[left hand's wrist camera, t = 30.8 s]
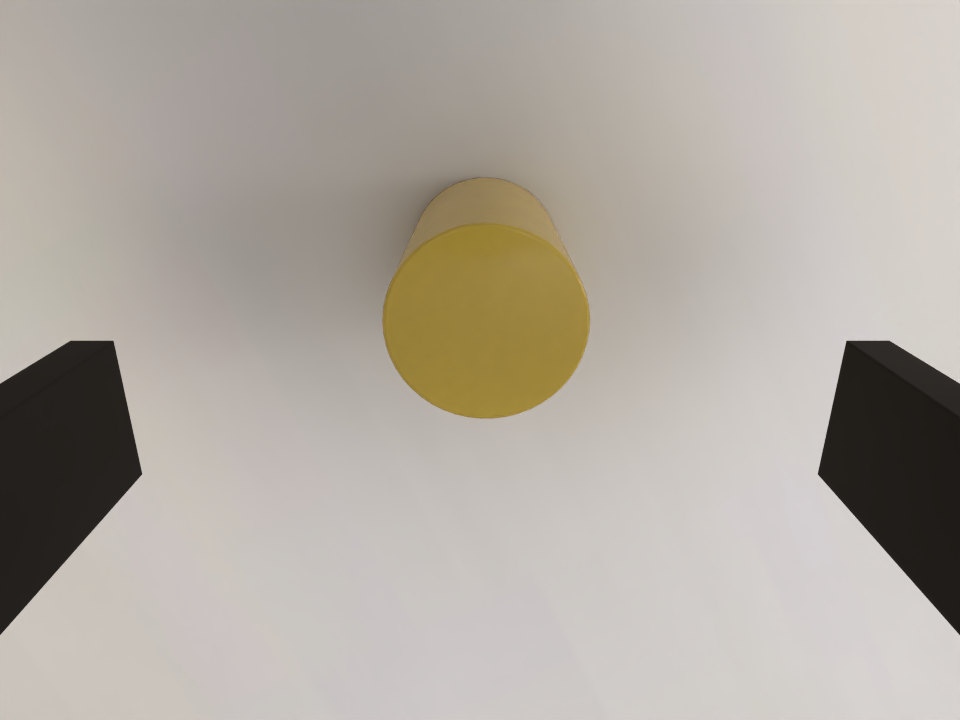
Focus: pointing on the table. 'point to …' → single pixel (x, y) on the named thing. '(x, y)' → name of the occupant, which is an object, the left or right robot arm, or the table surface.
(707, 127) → the table surface
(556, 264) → the tin
